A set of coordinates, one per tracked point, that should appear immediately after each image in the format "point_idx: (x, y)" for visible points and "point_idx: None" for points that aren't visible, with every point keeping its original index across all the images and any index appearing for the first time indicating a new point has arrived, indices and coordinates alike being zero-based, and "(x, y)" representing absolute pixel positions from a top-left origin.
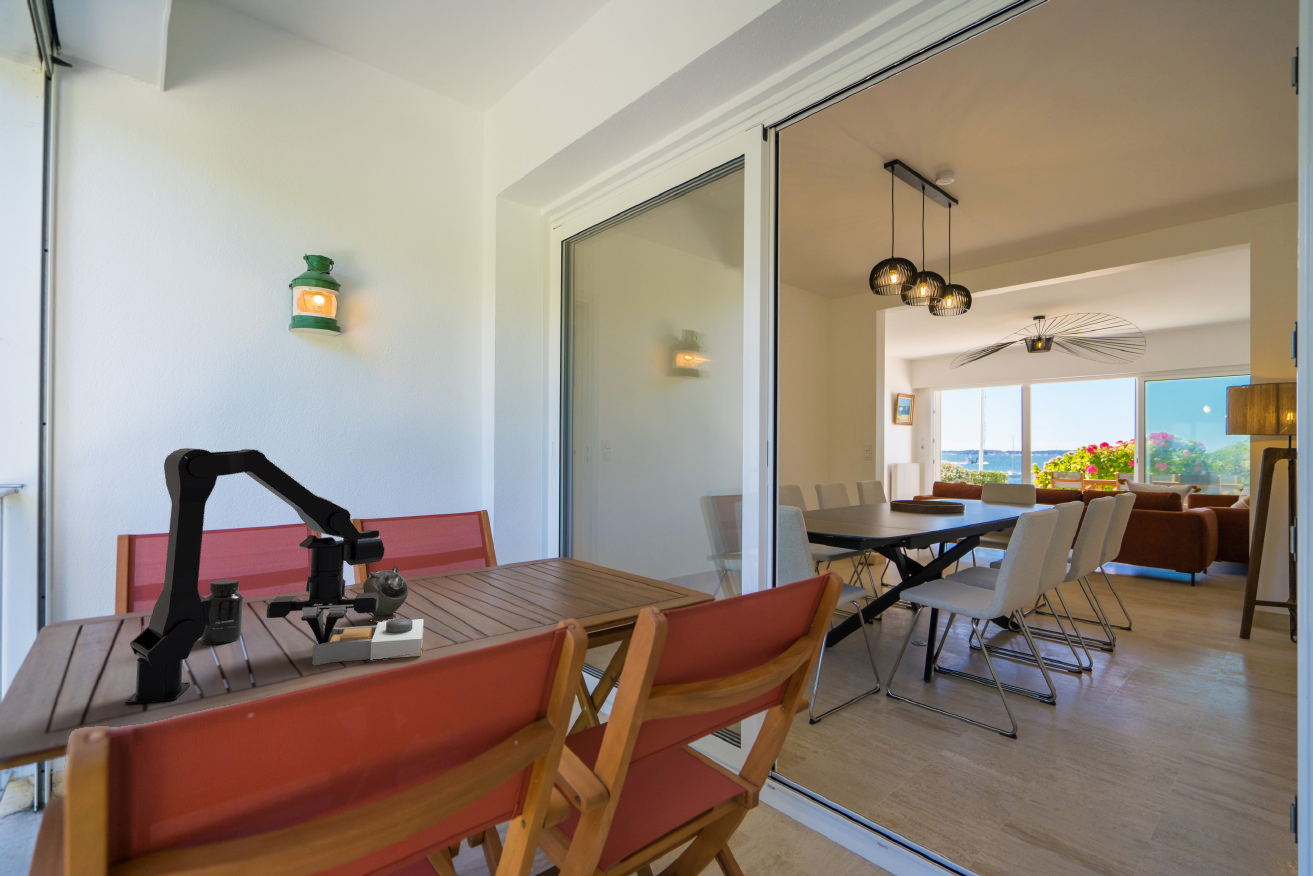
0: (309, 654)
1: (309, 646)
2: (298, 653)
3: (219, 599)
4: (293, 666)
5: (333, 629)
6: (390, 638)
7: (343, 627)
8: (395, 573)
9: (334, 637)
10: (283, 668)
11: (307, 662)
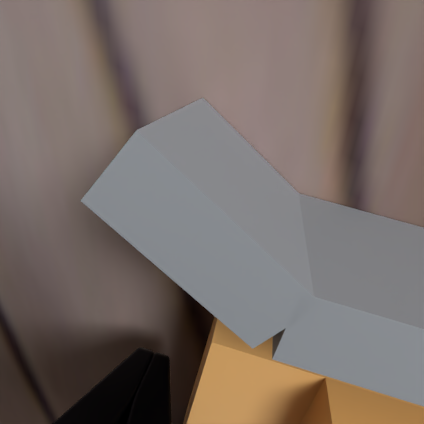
0: (87, 295)
1: (59, 106)
2: (18, 242)
3: None
4: (43, 412)
5: (207, 308)
6: None
7: (354, 315)
8: None
9: (213, 416)
10: (8, 410)
11: None
